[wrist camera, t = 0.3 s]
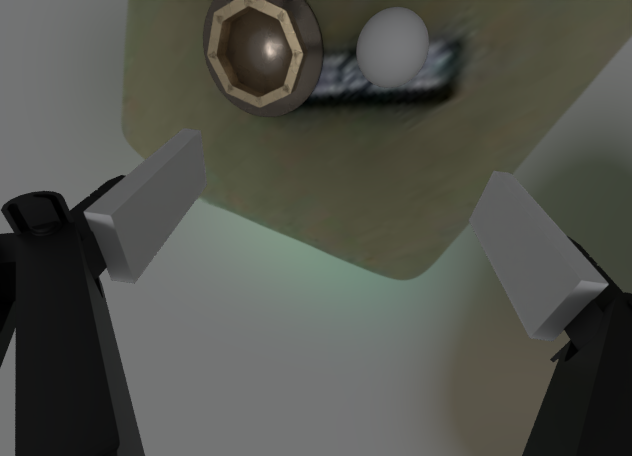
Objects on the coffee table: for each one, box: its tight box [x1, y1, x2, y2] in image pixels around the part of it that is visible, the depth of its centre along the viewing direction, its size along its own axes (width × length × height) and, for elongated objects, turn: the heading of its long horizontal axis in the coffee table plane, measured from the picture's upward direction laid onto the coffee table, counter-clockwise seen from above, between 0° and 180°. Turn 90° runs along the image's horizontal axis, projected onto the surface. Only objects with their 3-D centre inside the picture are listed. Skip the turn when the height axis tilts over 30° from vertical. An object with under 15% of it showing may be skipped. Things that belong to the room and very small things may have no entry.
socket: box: [203, 0, 324, 117], centre depth 35 cm, size 14×14×4 cm
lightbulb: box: [356, 7, 429, 88], centre depth 30 cm, size 6×6×11 cm
